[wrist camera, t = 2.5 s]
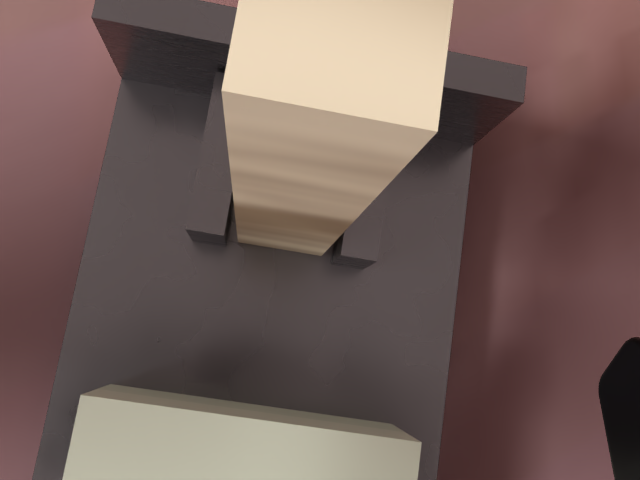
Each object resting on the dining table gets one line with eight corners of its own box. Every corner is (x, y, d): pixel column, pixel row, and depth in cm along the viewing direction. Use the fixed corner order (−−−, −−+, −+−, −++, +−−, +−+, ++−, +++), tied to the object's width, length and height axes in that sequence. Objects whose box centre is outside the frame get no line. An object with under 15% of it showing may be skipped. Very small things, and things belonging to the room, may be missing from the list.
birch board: (321, 255, 18) (437, 131, 7) (237, 242, 17) (221, 91, 7) (340, 129, 18) (473, -165, 8) (260, 114, 18) (279, -212, 7)
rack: (396, 685, 17) (455, 823, 12) (11, 647, 16) (-91, 780, 11) (462, 112, 21) (529, 42, 16) (141, 50, 19) (106, -46, 15)
